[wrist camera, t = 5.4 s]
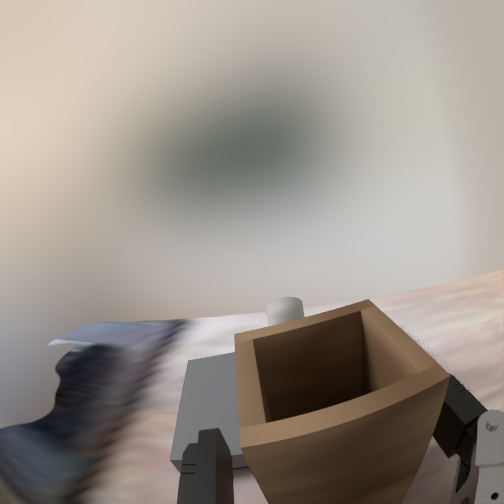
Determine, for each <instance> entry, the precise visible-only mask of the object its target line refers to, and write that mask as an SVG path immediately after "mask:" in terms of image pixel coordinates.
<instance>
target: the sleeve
mask: <svg viewBox="0 0 504 504" xmlns="http://www.w3.org/2000/svg"><path fill="white" fill-rule="evenodd" d="M234 337H235V360H236V381H237V399H238V417H239V433H240V448H241V450H242V452H243V454H244V456H245V458H246V461H247V463H248V465H249V467H250V469H251V471H252V473H253V475H254V477H255V479H256V481H257V483H258V485H259V486H260V488H261V490H262V492H263V494H264V496H265V498H266V500H267V502H268V503H269V504H401V503H402V501H403V499H404V497H405V495H406V493H407V491H408V490H409V488H410V486H411V484H412V482H413V480H414V478H415V475H416V473H417V471H418V469H419V467H420V465H421V462H422V460H423V458H424V455H425V453H426V451H427V448H428V446H429V443H430V440H431V438H432V435H433V432H434V430H435V427H436V424H437V421H438V418H439V415H440V412H441V409H442V405H443V402H444V399H445V395H446V391H447V388H448V384H449V380H450V375H449V374H448V373H447V372H446V371H445V370H444V369H443V368H442V367H441V366H440V365H439V364H438V363H437V362H436V361H435V360H434V359H433V358H432V357H431V356H430V355H429V354H428V353H427V352H425V351H424V350H423V349H422V348H421V347H420V346H419V345H418V344H417V343H416V342H415V341H414V340H413V339H412V338H411V337H409V336H408V335H407V334H406V333H405V332H404V331H403V330H402V329H401V328H400V327H399V326H397V325H396V324H395V323H394V322H393V321H392V320H391V319H390V318H389V317H388V316H386V315H385V314H384V313H383V312H382V311H381V310H380V309H379V308H378V307H376V306H375V305H374V304H373V303H372V302H371V301H370V300H369V299H367V300H364V301H361V302H358V303H354V304H351V305H348V306H344V307H341V308H337V309H334V310H330V311H327V312H323V313H320V314H316V315H312V316H309V317H305V318H301V319H297V320H293V321H289V322H285V323H281V324H277V325H273V326H269V327H264V328H260V329H256V330H251V331H247V332H242V333H237V334H234Z"/></svg>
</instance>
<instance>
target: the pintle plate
mask: <svg viewBox="0 0 504 504" xmlns="http://www.w3.org/2000/svg"><path fill="white" fill-rule="evenodd" d="M265 309H266V314H267V319H268V323H269V326H273V325H277V324H281V323H285V322H289V321H293V320H297V319H301V318H305V317H304V311H303V305H302V301H301V300H300V299H298V298H294V297H286V298H280V299H277V300H274V301H272V302H270V303H269V304H268V305H267V306H266V308H265ZM212 428H219V429H220V431H221V433H222V435H223V437H224V439H225V441H226V443H227V445H228V447H229V449H230V452H231V456H232V467H233V468H240V467H247V466H249V465H248V463H247V461H246V458H245V456H244V454H243V452H242V450H241V448H240V433H239V417H238V399H237V381H236V360H235V352H233V353H228V354H223V355H217V356H212V357H206V358H201V359H195V360H189V361H188V364H187V369H186V374H185V379H184V384H183V390H182V395H181V400H180V405H179V411H178V416H177V422H176V428H175V433H174V439H173V445H172V451H171V457H170V461H171V462H172V463H173V465H174V466H175V467H176V468H177V470H178V471H179V472H181V466H182V464H181V463H182V455H183V452H184V451H185V449H186V447H187V446H188V444H189V443H198V433H199V430H203V429H212Z"/></svg>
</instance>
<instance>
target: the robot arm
mask: <svg viewBox="0 0 504 504" xmlns="http://www.w3.org/2000/svg"><path fill="white" fill-rule="evenodd" d="M449 375H450V380H449V384H448V388H447V391H446V395H445V399H444V402H443V405H442V409H441V412H440V415H439V418H438V421H437V424H436V427H435V430H434V432H433V435H432V436H433V437H434V439H435V440H436V441H437V443H438V444H439V446H440V447H441V448H442V450H443V451H444V453H445V454H446V456H447V457H448V458H450V457H451V456H453V455H455V454H456V453H457V454H458V455H459V459H458V463H457V469H456V475H455V481H454V486H453V491H452V495H451V498H450V500H449V502H448V504H504V413H503V412H501V411H499V410H489V411H488V410H487V409H486V408H485V407H484V406H483V405H482V404H481V403H480V402H479V401H478V400H477V399H476V398H475V397H474V396H473V395H472V394H471V393H470V392H469V391H468V390H466V388H465V387H464V386H463V385H462V384H460V382H459V381H458V380H457V379H456V378H455V377H454V376H453V375H451V374H449ZM181 464H182V466H181V472H180V473H181V475H180V480H179V489H178V499H177V504H234V490H233V467H232V456H231V452H230V449H229V447H228V445H227V443H226V441H225V439H224V437H223V435H222V433H221V431H220V429H219V428H212V429H203V430H199V433H198V443H189V444H188V446H187V447H186V449H185V451H184V452H183V455H182V463H181Z"/></svg>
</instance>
